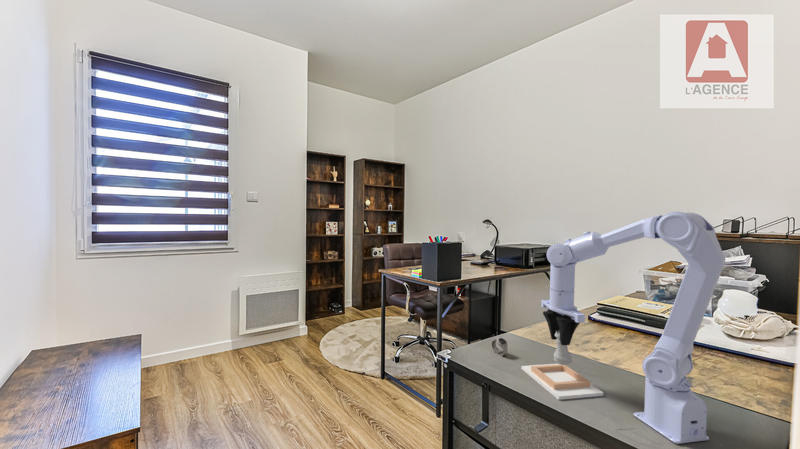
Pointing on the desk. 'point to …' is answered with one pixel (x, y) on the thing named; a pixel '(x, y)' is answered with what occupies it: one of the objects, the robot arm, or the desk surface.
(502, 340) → the wristwatch
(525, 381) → the desk surface
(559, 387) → the socket holder
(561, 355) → the rook chess piece
